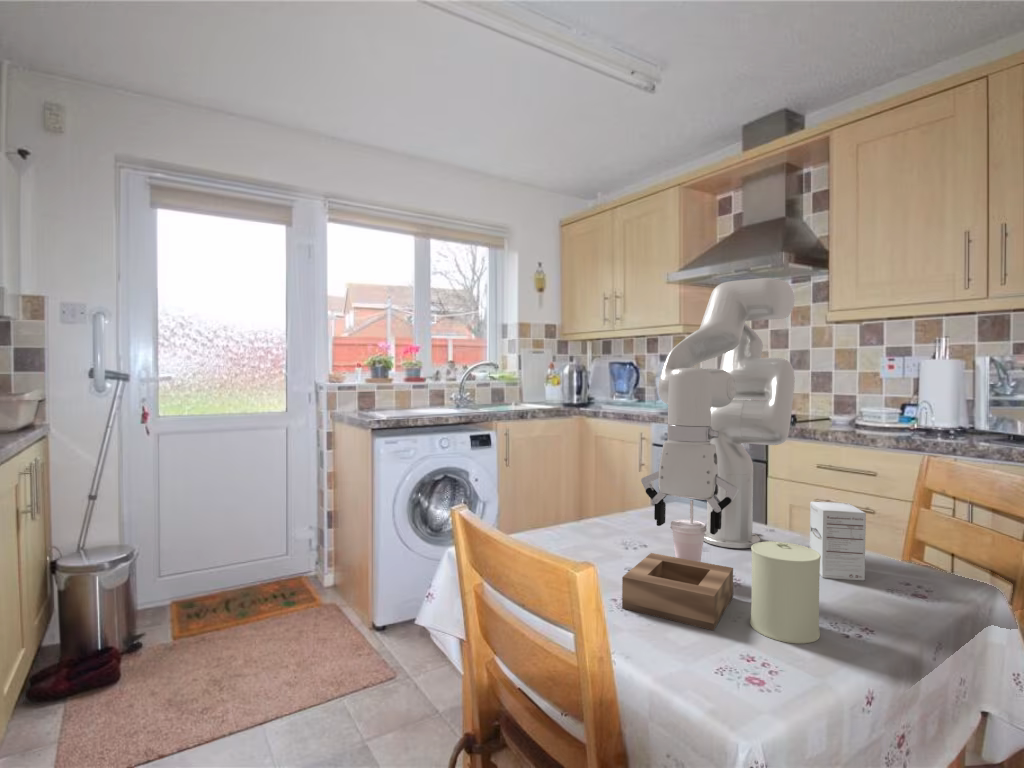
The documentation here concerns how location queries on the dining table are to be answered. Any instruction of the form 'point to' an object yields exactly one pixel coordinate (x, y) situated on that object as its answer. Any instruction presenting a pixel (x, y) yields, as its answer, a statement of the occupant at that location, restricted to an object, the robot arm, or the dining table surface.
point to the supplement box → (838, 539)
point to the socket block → (678, 590)
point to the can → (785, 592)
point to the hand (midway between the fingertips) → (686, 528)
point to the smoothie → (688, 537)
